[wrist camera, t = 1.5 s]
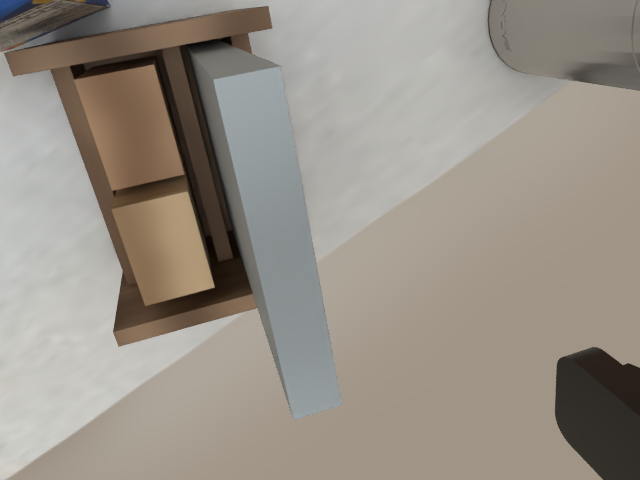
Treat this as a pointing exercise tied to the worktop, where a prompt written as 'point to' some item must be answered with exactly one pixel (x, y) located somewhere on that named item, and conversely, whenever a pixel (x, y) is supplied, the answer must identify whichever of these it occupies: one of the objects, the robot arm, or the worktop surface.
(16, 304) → the worktop surface
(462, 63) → the worktop surface
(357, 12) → the worktop surface
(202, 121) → the rack
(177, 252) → the offcut
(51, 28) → the beverage box
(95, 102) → the offcut
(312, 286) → the sheet
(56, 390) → the worktop surface
